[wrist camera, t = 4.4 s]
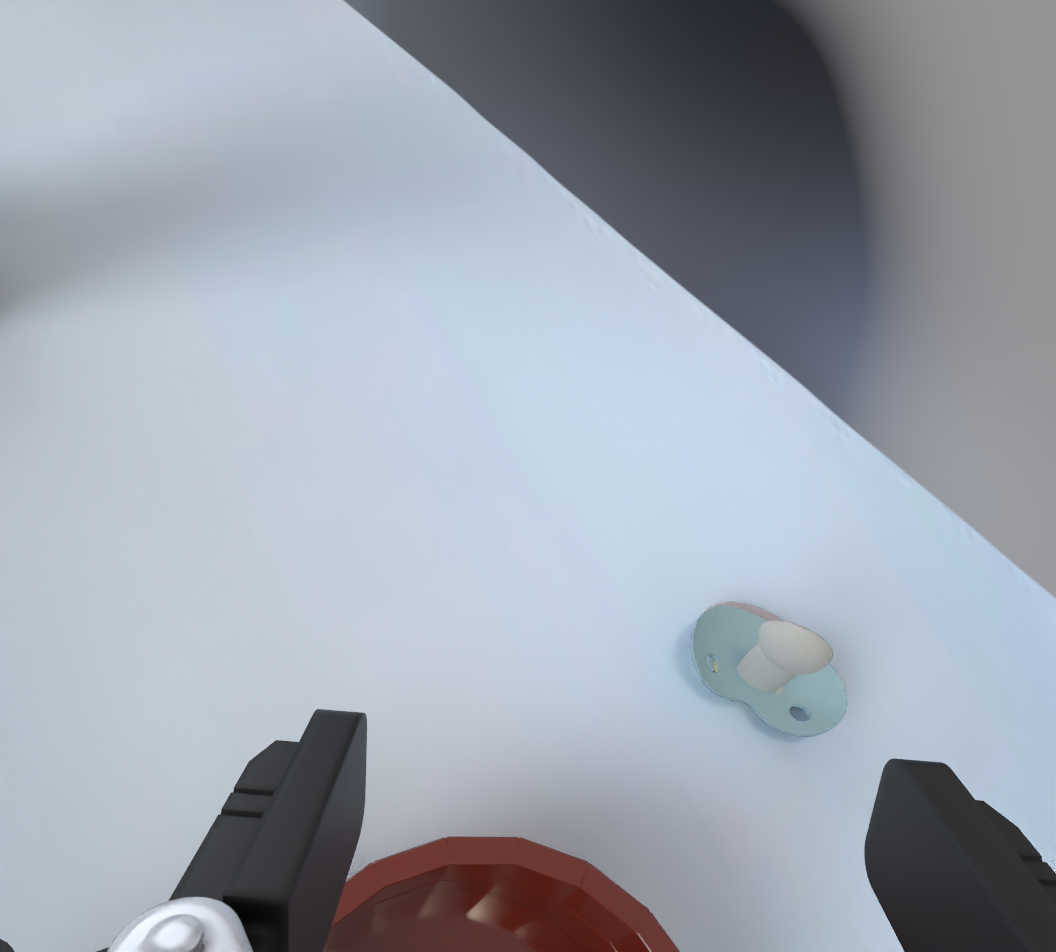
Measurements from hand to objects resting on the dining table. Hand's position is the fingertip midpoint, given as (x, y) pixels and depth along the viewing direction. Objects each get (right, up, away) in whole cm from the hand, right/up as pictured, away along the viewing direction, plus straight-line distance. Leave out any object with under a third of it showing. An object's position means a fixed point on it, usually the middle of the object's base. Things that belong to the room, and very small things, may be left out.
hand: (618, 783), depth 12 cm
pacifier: (+9, -5, +25) cm, 27 cm away
